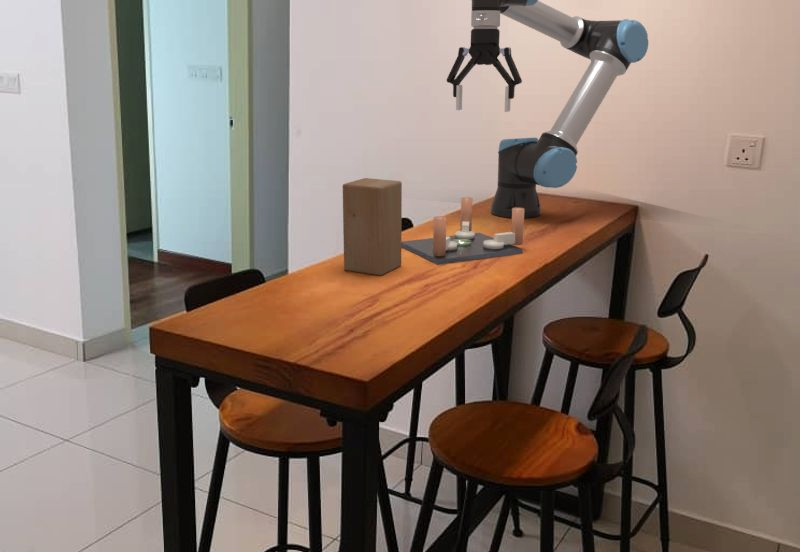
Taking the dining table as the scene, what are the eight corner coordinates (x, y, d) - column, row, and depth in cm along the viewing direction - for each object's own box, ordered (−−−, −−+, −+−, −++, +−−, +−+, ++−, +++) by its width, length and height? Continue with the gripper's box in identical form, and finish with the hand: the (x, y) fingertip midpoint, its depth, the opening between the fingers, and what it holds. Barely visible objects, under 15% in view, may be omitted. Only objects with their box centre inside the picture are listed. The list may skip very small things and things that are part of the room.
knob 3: (490, 249, 195) (491, 213, 193) (479, 245, 199) (480, 210, 197) (527, 245, 200) (529, 209, 197) (516, 241, 204) (517, 206, 202)
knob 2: (474, 239, 206) (475, 205, 203) (454, 239, 206) (455, 204, 204) (475, 230, 216) (476, 197, 214) (456, 229, 217) (457, 197, 214)
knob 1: (439, 244, 200) (440, 209, 198) (459, 246, 199) (460, 210, 196) (427, 255, 190) (428, 218, 188) (447, 256, 189) (448, 219, 186)
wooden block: (343, 270, 182) (341, 183, 177) (365, 260, 191) (364, 177, 185) (381, 276, 178) (381, 187, 172) (402, 265, 187) (402, 180, 181)
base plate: (479, 236, 215) (479, 228, 214) (522, 253, 198) (522, 244, 197) (399, 246, 205) (399, 237, 204) (438, 264, 188) (438, 255, 187)
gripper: (435, 28, 211) (434, 110, 217) (528, 27, 201) (524, 113, 207) (445, 28, 217) (444, 108, 223) (535, 28, 208) (531, 111, 214)
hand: (482, 110), depth 215 cm, fingers open, 13 cm apart
